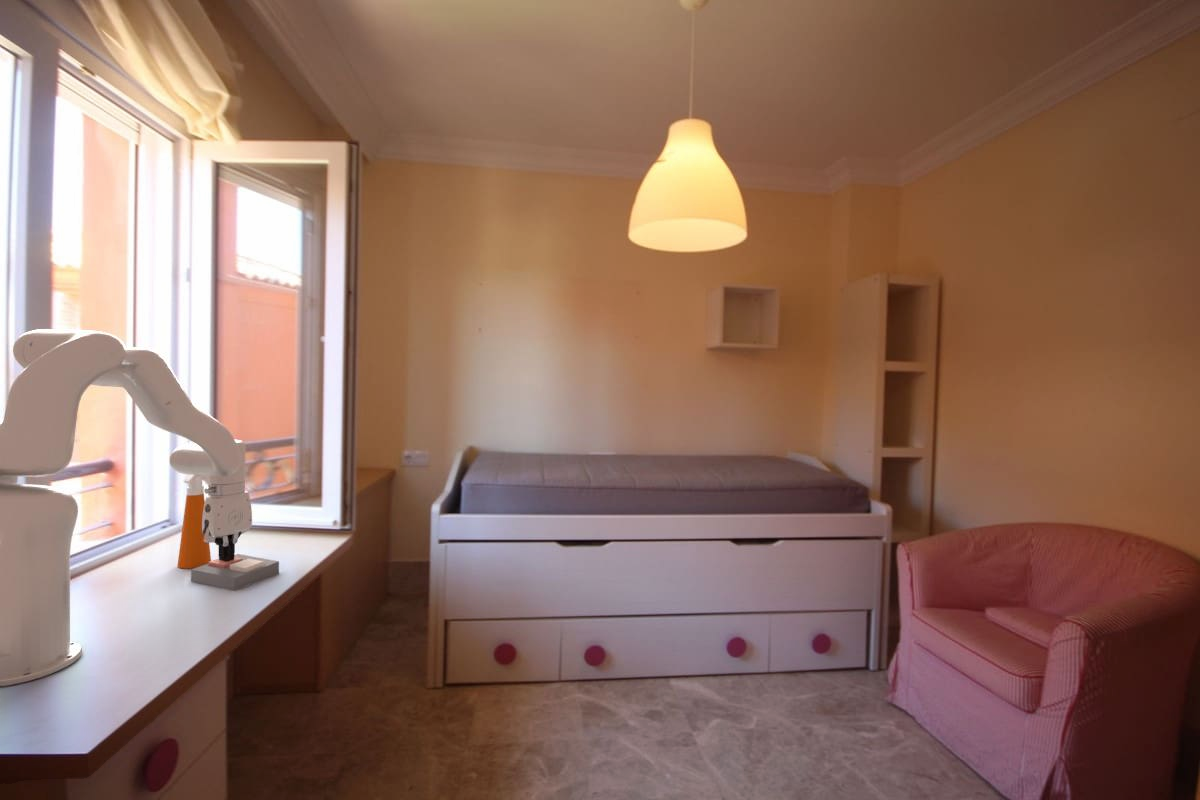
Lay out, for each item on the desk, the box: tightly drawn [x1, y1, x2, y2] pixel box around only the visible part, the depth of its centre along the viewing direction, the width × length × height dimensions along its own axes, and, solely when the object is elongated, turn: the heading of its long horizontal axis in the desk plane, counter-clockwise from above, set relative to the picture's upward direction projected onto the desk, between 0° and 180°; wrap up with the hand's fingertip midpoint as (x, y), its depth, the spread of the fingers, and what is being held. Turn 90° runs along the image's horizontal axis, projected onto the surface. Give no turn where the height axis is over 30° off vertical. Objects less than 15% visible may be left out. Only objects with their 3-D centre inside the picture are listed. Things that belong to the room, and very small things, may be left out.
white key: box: [230, 559, 264, 573], centre depth 128 cm, size 5×5×2 cm
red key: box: [208, 557, 243, 569], centre depth 130 cm, size 5×5×2 cm
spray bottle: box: [177, 474, 212, 570], centre depth 138 cm, size 7×11×26 cm, turn 2°
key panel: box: [190, 553, 280, 591], centre depth 129 cm, size 12×14×3 cm
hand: (226, 559), depth 131 cm, fingers closed
